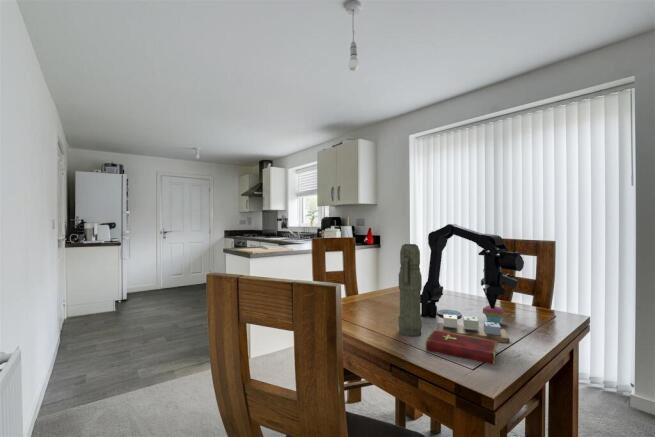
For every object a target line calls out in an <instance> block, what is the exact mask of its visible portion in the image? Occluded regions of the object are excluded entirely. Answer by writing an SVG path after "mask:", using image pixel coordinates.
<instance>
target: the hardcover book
mask: <svg viewBox="0 0 655 437" xmlns="http://www.w3.org/2000/svg"><path fill="white" fill-rule="evenodd" d="M497 347H498V341H494V340H488V339H482V338H477V337H471V336H466V335H460V334H454V333H449V332H443V331H438V330H437V329H433V330H432V332H431V333H430V334H429V335H428V336H427V338H426V339H425V351H426V352H427V351H428V352H431V353H436V354H442V355H446V356H451V357H456V358H460V359H465V360H468V361H469V360H470V361H475V362H479V363H484V364H488V365H494V366H495V365H496V353H497Z"/></svg>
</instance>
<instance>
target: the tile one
mask: <svg viewBox="0 0 655 437" xmlns="http://www.w3.org/2000/svg"><path fill="white" fill-rule="evenodd" d="M443 323H444V325H445V326H455V327H457V325H458V316H457V315H456V314H447V313H444V314H443Z"/></svg>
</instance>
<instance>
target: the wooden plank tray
mask: <svg viewBox="0 0 655 437" xmlns="http://www.w3.org/2000/svg"><path fill="white" fill-rule="evenodd" d="M436 330H438V331H443V332H449V333H454V334H460V335H466V336H471V337H477V338H482V339H488V340H494V341H497V342H501V343H510V340H511V339H510V337H509V334H508V333H507V332H506V329H503V328H502V329H501V335H494V334H486V333H485V330H484V326H483V327H482V326H480V327H479V329H473V328H464V324H457V327H455V326H445V325H444V322H437V324H436Z"/></svg>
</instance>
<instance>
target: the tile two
mask: <svg viewBox="0 0 655 437" xmlns="http://www.w3.org/2000/svg"><path fill="white" fill-rule="evenodd" d="M462 325H464V328H473V329H479V325H480V324H479V319H478V317H477V316H476V317H475V316H466V315H465V316H464V315H463V324H462Z"/></svg>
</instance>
